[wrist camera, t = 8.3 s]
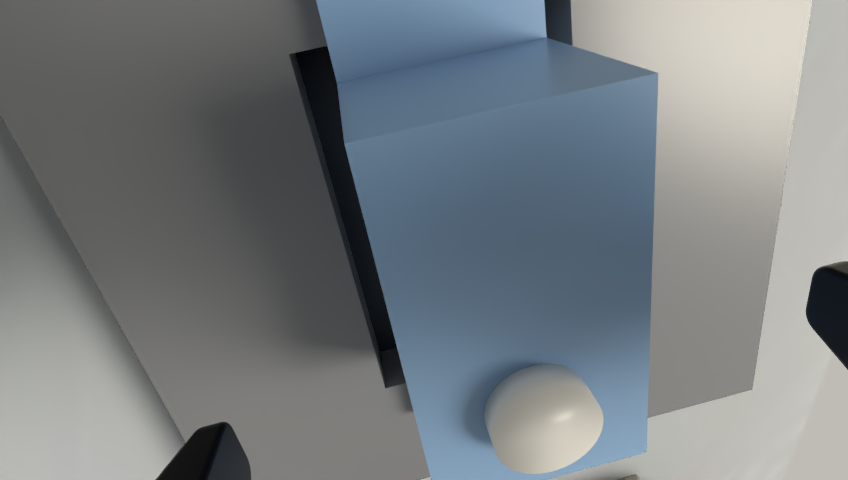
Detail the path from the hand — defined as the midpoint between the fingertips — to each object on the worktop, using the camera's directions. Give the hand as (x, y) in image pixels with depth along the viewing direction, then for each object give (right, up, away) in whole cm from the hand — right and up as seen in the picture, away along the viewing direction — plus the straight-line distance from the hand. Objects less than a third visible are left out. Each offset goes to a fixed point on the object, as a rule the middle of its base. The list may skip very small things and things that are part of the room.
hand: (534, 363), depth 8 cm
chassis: (-1, +3, +6) cm, 6 cm away
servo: (-1, +3, +6) cm, 6 cm away
